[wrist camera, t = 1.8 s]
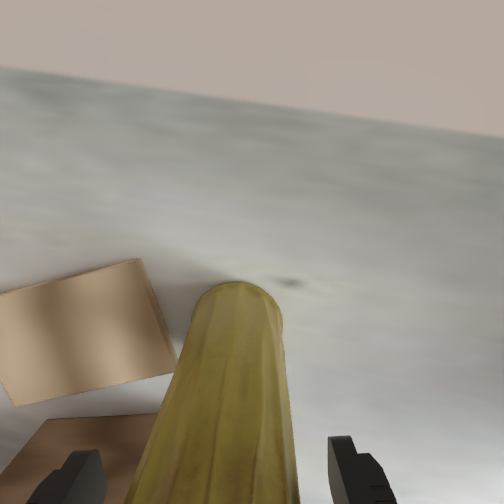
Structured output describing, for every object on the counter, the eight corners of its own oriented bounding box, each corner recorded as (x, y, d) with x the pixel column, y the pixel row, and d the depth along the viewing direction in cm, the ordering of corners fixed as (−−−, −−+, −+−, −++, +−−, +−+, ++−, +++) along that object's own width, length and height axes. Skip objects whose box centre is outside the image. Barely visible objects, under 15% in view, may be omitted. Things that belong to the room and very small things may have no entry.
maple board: (144, 255, 20) (135, 262, 19) (181, 358, 22) (175, 371, 21) (-20, 297, 21) (-40, 306, 20) (29, 392, 23) (14, 407, 22)
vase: (176, 303, 20) (8, 580, 7) (259, 265, 20) (266, 490, 6) (217, 374, 22) (151, 727, 8) (296, 342, 21) (374, 669, 7)
